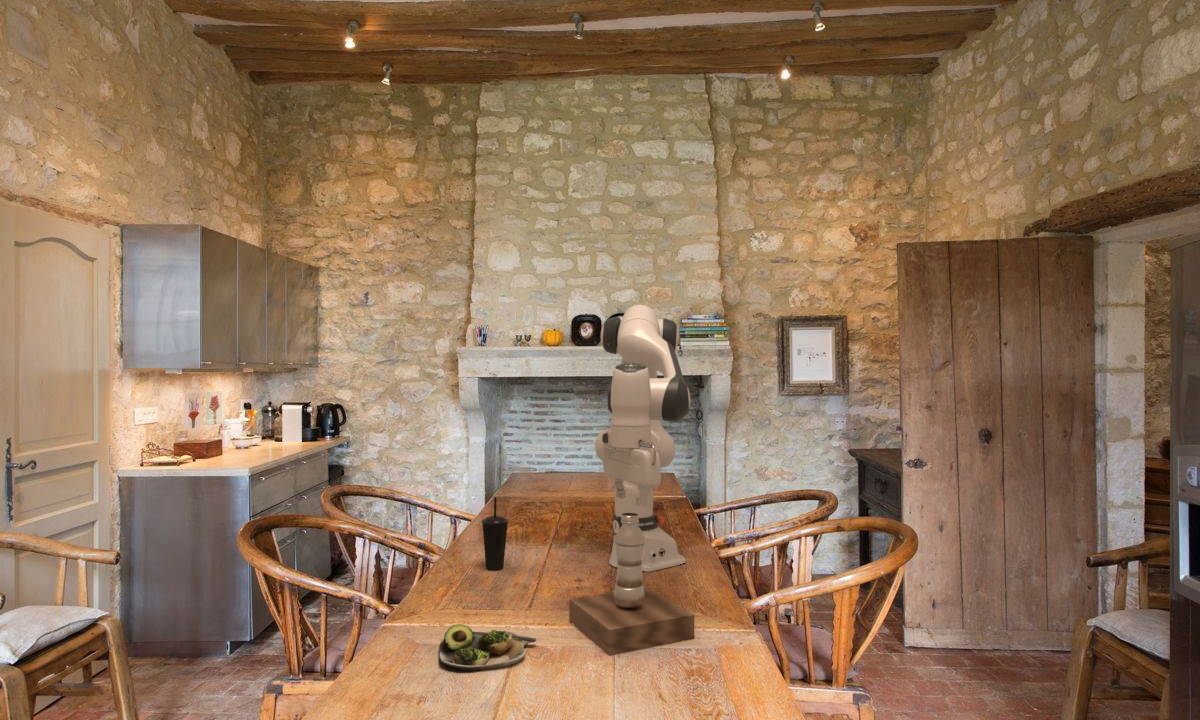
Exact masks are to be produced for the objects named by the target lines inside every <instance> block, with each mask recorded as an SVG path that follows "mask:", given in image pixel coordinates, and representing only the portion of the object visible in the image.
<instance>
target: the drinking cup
mask: <svg viewBox="0 0 1200 720" xmlns="http://www.w3.org/2000/svg"><path fill="white" fill-rule="evenodd" d="M509 522H510V519H509V518H507V517H505V516H503V515H498V514H497V496H494V497H493V515H489V516H487V517H485V518H482V519H481V523H482V535H483V546H484V550H483V551H484V559H485V560H484V561H485V569H486V571H489V570H490V571H489V572H499V571H502V570H503V569H504V564H505V556H506V554H505V553H506V544H507V535H508V534H507V533H508V523H509Z"/></svg>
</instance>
